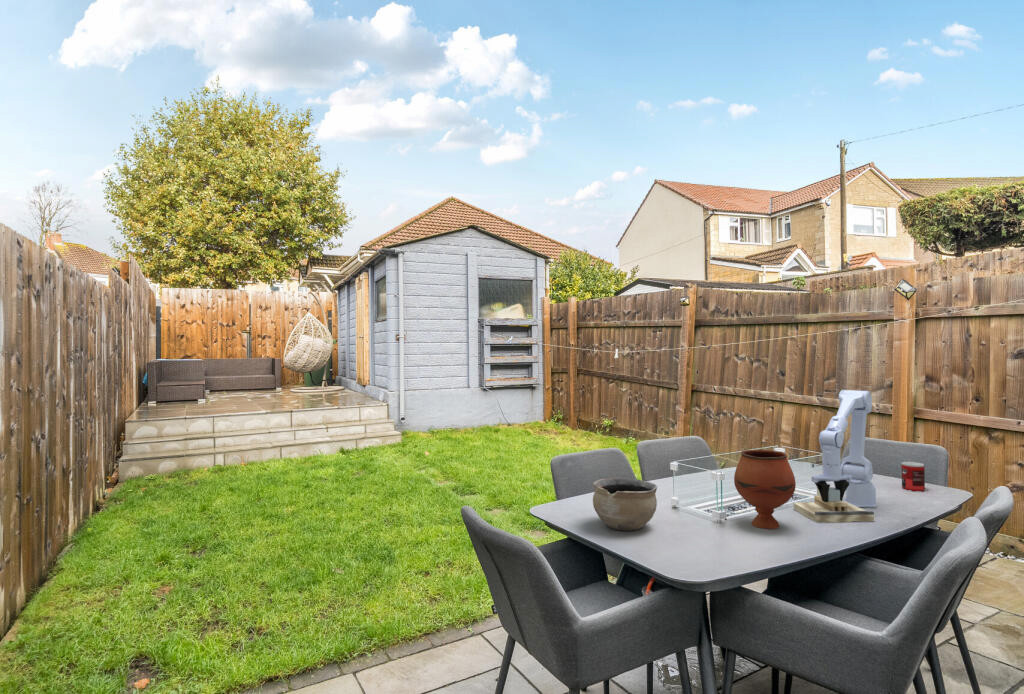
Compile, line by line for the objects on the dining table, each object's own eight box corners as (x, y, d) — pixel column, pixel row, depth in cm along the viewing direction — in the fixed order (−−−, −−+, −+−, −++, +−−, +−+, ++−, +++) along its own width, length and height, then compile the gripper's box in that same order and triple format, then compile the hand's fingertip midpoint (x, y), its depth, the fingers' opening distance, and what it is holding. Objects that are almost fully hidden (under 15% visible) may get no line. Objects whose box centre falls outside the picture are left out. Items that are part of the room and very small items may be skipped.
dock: (846, 508, 209) (846, 499, 209) (874, 521, 193) (874, 511, 193) (793, 509, 209) (793, 500, 209) (816, 522, 193) (816, 512, 193)
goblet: (722, 521, 197) (721, 450, 197) (764, 514, 203) (763, 446, 204) (765, 537, 179) (764, 460, 179) (809, 529, 186) (808, 455, 186)
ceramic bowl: (579, 526, 194) (579, 482, 194) (619, 513, 208) (619, 473, 208) (631, 542, 177) (630, 495, 177) (671, 527, 191) (670, 483, 191)
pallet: (829, 502, 208) (828, 494, 208) (847, 511, 197) (847, 503, 197) (814, 503, 208) (814, 495, 208) (832, 511, 197) (832, 503, 197)
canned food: (905, 486, 241) (904, 460, 241) (927, 489, 235) (926, 463, 235) (899, 489, 236) (898, 463, 236) (921, 492, 230) (921, 466, 230)
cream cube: (827, 495, 207) (827, 484, 207) (833, 498, 203) (833, 487, 203) (816, 495, 207) (816, 484, 207) (822, 498, 203) (822, 487, 203)
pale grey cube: (833, 498, 203) (833, 487, 203) (840, 501, 199) (839, 490, 199) (822, 498, 203) (822, 487, 203) (828, 501, 199) (828, 490, 199)
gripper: (841, 460, 206) (842, 497, 206) (805, 462, 204) (806, 499, 204) (855, 464, 199) (856, 502, 199) (818, 466, 197) (819, 504, 197)
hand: (832, 501), depth 201 cm, fingers closed on pallet, 5 cm apart
